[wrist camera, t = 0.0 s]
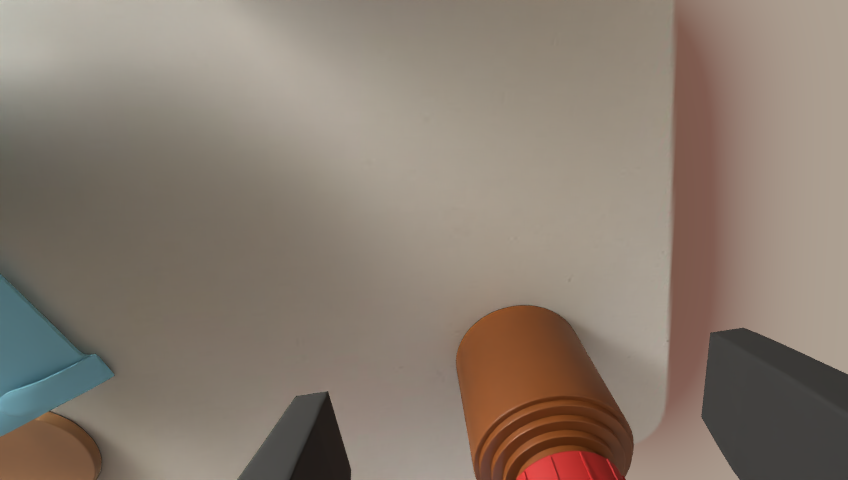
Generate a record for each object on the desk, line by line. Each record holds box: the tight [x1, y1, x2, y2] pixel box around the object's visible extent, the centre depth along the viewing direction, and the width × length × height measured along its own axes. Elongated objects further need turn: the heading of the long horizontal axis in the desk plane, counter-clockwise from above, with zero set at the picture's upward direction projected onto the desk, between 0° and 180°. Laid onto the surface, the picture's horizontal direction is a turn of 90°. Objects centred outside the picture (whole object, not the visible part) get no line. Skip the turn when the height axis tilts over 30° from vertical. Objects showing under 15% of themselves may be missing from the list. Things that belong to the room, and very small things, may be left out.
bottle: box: [456, 305, 634, 480], centre depth 19 cm, size 6×6×9 cm
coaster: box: [0, 412, 102, 480], centre depth 24 cm, size 6×6×1 cm
